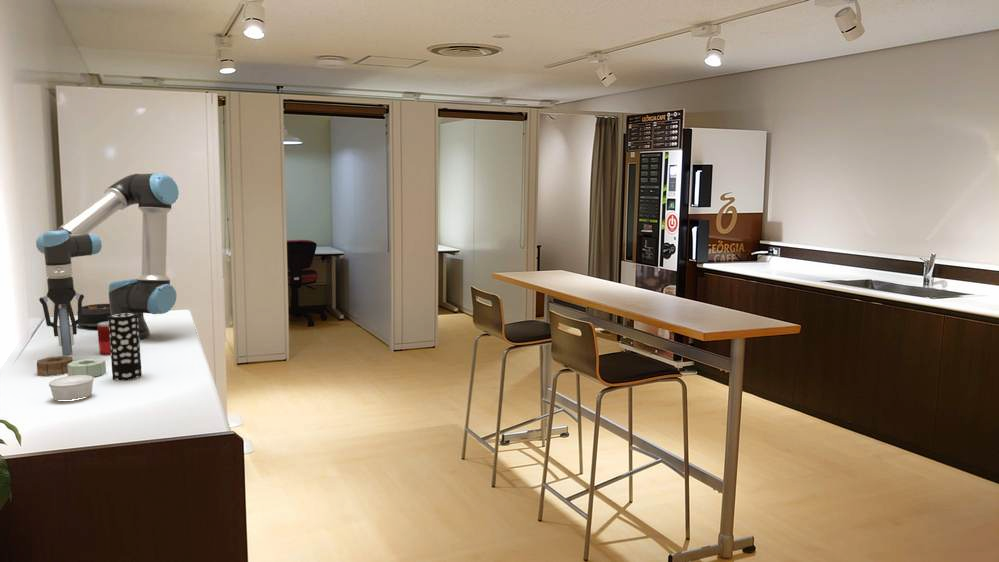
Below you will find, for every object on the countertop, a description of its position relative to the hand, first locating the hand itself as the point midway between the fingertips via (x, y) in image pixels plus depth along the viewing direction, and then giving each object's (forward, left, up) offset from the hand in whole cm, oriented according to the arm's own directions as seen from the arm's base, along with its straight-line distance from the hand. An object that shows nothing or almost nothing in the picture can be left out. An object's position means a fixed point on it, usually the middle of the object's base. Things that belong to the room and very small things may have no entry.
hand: (66, 344), depth 256 cm
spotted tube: (-17, +31, -7) cm, 36 cm away
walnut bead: (+3, +12, -6) cm, 14 cm away
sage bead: (-6, +21, -6) cm, 23 cm away
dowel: (0, 0, -4) cm, 4 cm away
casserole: (-12, -71, -7) cm, 72 cm away
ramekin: (-2, +48, -7) cm, 49 cm away
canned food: (-14, -10, -7) cm, 18 cm away
